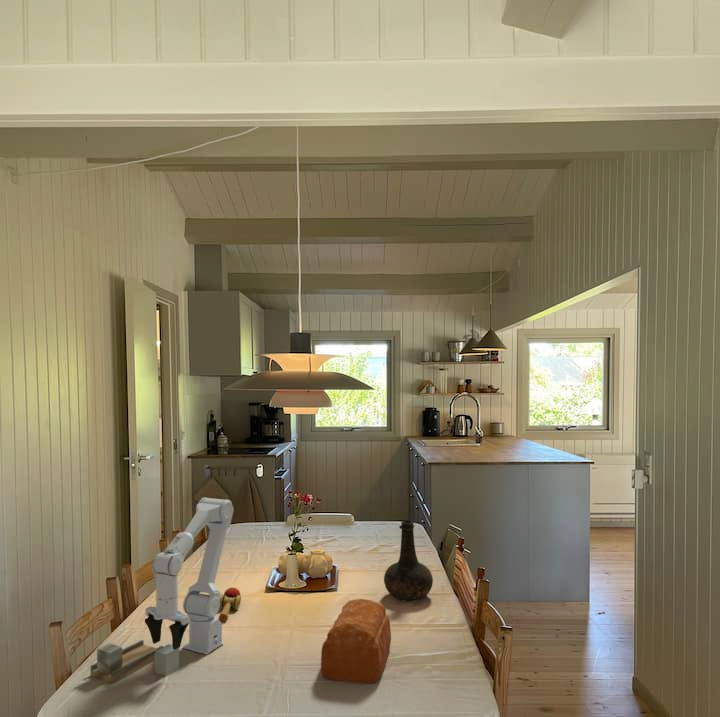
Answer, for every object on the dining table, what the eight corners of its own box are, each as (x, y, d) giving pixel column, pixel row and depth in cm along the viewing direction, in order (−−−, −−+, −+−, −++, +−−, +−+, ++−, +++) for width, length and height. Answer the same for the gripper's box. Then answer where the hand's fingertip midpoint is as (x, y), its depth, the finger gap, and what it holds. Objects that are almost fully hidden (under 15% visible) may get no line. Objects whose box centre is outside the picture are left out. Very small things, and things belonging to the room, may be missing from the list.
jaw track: (163, 655, 182) (163, 629, 182) (113, 683, 166) (113, 655, 166) (141, 648, 186) (141, 623, 186) (90, 675, 170) (90, 648, 170)
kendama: (237, 625, 206) (246, 597, 224) (233, 608, 206) (242, 581, 223) (214, 629, 206) (225, 601, 224) (210, 612, 206) (221, 585, 223)
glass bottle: (436, 591, 234) (436, 517, 234) (427, 609, 217) (427, 529, 217) (391, 586, 239) (391, 513, 240) (378, 603, 222) (378, 525, 223)
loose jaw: (165, 676, 170) (165, 654, 170) (153, 672, 172) (153, 650, 172) (179, 668, 175) (179, 647, 175) (167, 664, 177) (167, 643, 177)
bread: (317, 680, 169) (318, 625, 169) (338, 640, 193) (338, 592, 193) (379, 686, 165) (379, 630, 165) (392, 645, 189) (392, 597, 189)
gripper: (137, 596, 173) (136, 645, 173) (175, 605, 167) (175, 656, 166) (156, 588, 180) (155, 635, 179) (194, 597, 173) (193, 646, 173)
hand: (166, 645), depth 173 cm, fingers open, 7 cm apart
